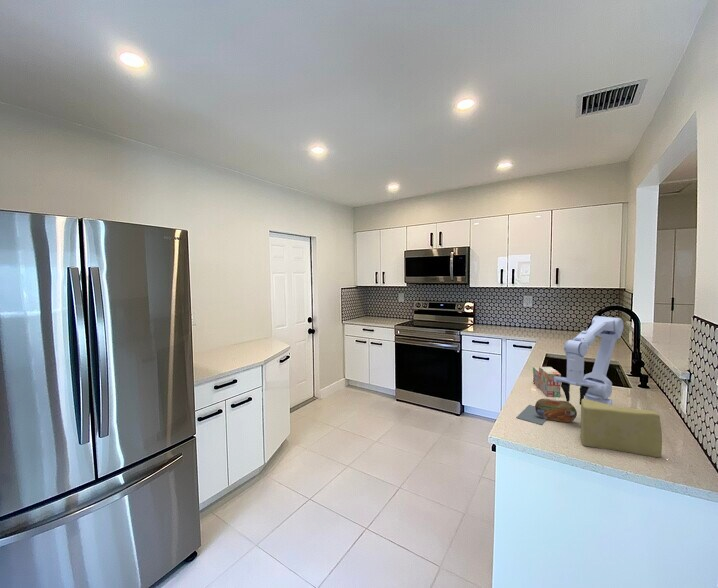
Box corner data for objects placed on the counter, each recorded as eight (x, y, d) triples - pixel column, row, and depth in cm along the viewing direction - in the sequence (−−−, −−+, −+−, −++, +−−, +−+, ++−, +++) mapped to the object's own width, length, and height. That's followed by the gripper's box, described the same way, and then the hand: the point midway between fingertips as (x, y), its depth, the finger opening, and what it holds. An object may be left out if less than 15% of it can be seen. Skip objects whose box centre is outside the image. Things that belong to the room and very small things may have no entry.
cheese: (657, 450, 111) (658, 408, 110) (665, 464, 102) (667, 419, 101) (580, 434, 122) (580, 396, 121) (581, 446, 114) (582, 405, 113)
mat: (553, 411, 143) (553, 410, 143) (542, 425, 130) (542, 424, 130) (528, 405, 150) (529, 404, 150) (516, 418, 137) (516, 417, 137)
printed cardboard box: (532, 383, 181) (533, 361, 180) (544, 383, 180) (545, 362, 179) (547, 397, 160) (547, 373, 159) (560, 397, 159) (561, 373, 158)
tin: (534, 417, 136) (536, 398, 135) (533, 414, 139) (535, 395, 138) (576, 424, 130) (577, 404, 130) (574, 420, 133) (575, 401, 133)
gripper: (552, 368, 131) (551, 400, 131) (595, 375, 121) (594, 410, 121) (556, 364, 136) (555, 395, 136) (598, 371, 126) (597, 405, 126)
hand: (574, 402), depth 129 cm, fingers open, 4 cm apart
